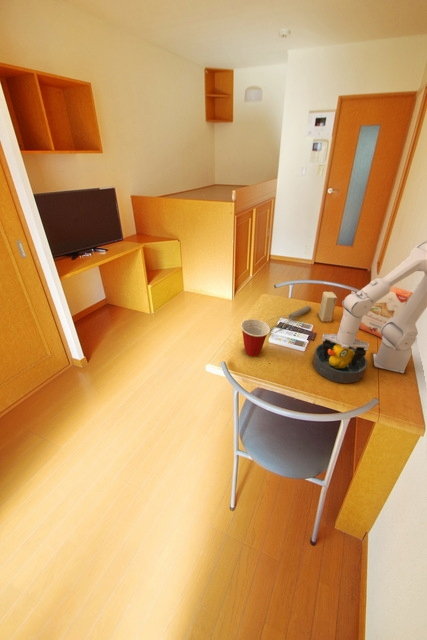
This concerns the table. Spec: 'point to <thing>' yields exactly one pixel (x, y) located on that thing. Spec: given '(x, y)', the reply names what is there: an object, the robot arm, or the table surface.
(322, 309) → the cosmetic box
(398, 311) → the cracker box
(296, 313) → the kitchen whisk
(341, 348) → the duckling
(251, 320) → the plastic cup
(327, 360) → the bowl
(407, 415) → the table surface
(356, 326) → the robot arm
